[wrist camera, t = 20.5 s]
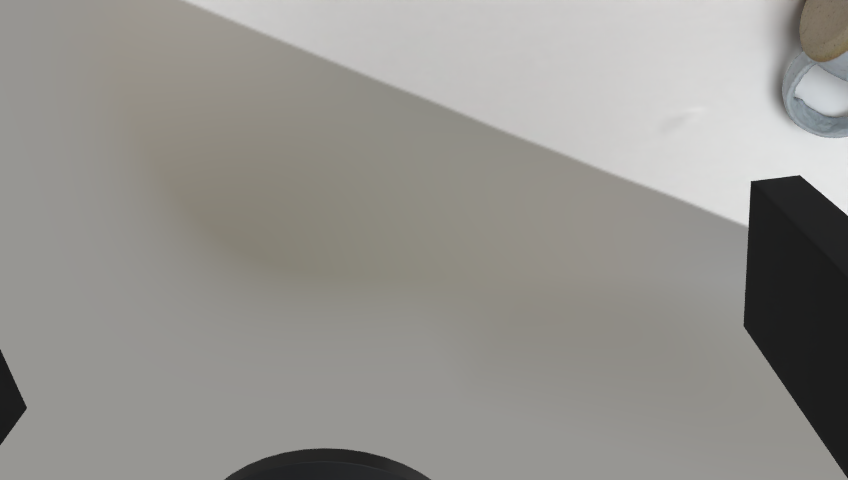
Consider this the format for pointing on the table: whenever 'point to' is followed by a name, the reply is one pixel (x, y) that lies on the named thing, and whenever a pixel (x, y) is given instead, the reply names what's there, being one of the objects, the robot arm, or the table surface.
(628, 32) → the table surface
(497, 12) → the table surface
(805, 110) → the ceramic mug
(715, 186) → the table surface
